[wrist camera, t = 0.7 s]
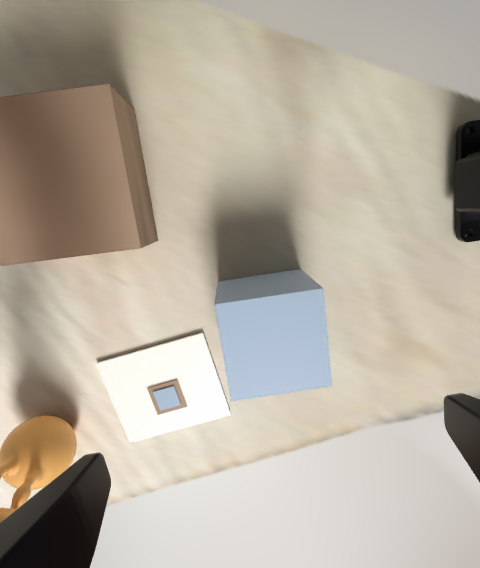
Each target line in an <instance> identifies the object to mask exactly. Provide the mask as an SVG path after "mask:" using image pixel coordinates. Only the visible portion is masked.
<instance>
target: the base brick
mask: <svg viewBox="0 0 480 568" xmlns="http://www.w3.org/2000/svg"><path fill="white" fill-rule="evenodd" d="M156 241H158V238H157V232H156V226H155V221H154V215H153V210H152V204H151V199H150V193H149V187H148V182H147V176H146V171H145V165H144V160H143V154H142V148H141V143H140V137H139V132H138V126H137V120H136V115H135V110H134V109H133V108H132V107H131V106H130V105H129V104H128V103H127V102H126V101H125V99H124V98H123V97H122V96H121V95H120V94H119V93H118V92H117V91H116V90H115V89H114V88H113V87H112V86H111V85H110V84H103V85H95V86H87V87H79V88H71V89H63V90H55V91H47V92H39V93H31V94H23V95H15V96H7V97H0V266H4V265H12V264H19V263H27V262H35V261H43V260H51V259H59V258H67V257H75V256H83V255H91V254H99V253H107V252H115V251H123V250H131V249H139V248H143V247H145V246H147V245H149V244H151V243H154V242H156Z"/></svg>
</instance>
